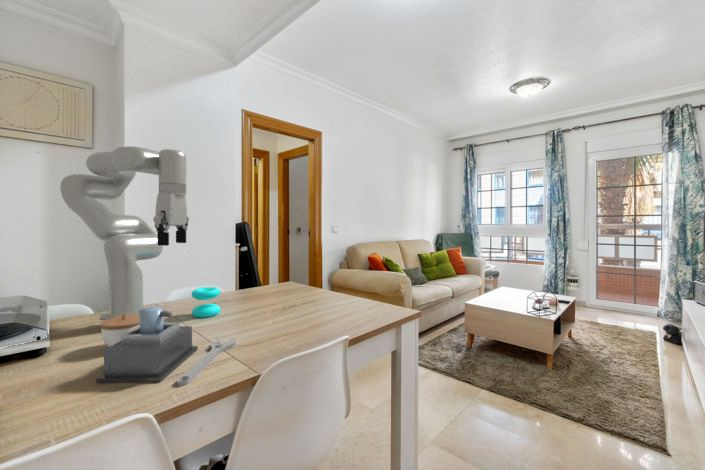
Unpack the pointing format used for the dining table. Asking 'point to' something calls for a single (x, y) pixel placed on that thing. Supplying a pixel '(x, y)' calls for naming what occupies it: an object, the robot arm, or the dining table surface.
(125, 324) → the lidded jar
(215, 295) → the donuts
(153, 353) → the grey open box
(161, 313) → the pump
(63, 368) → the dining table surface
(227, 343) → the adjustable wrench
